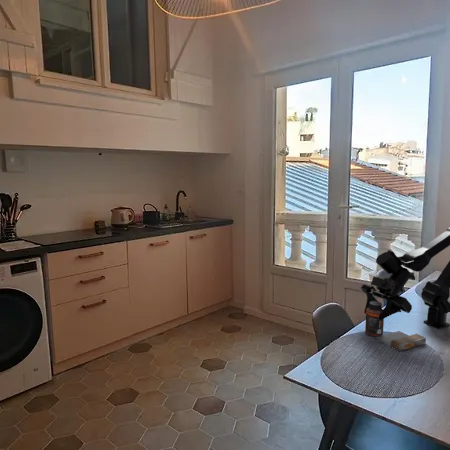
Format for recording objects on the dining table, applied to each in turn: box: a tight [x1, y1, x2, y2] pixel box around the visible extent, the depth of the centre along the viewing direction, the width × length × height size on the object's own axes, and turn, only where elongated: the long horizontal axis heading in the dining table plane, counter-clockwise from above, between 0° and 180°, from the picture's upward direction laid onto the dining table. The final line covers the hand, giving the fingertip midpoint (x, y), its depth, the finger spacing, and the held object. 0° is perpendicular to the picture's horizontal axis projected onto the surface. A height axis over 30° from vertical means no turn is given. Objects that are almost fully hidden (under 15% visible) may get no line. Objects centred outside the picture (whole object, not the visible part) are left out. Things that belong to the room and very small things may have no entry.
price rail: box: [390, 333, 427, 352], centre depth 125 cm, size 12×4×2 cm, turn 115°
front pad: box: [374, 330, 410, 347], centre depth 130 cm, size 12×7×1 cm, turn 115°
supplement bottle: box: [364, 301, 385, 337], centre depth 133 cm, size 6×6×11 cm
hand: (371, 316), depth 133 cm, fingers closed on supplement bottle, 6 cm apart
